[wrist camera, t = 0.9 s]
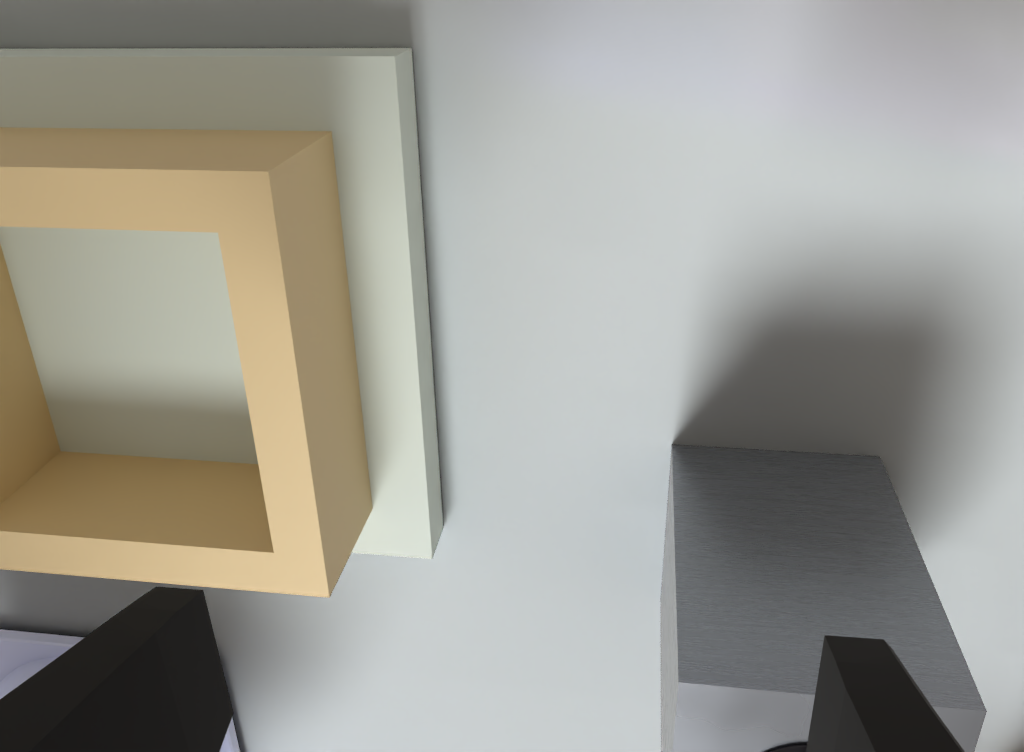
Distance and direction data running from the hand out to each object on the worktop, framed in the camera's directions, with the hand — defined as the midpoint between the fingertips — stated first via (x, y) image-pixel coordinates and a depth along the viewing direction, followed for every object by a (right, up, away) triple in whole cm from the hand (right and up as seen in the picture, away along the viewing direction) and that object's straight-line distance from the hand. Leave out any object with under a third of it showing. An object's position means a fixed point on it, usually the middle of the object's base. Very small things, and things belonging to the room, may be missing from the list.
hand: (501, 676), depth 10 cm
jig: (-7, +5, +9) cm, 13 cm away
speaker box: (+6, 0, +10) cm, 12 cm away
